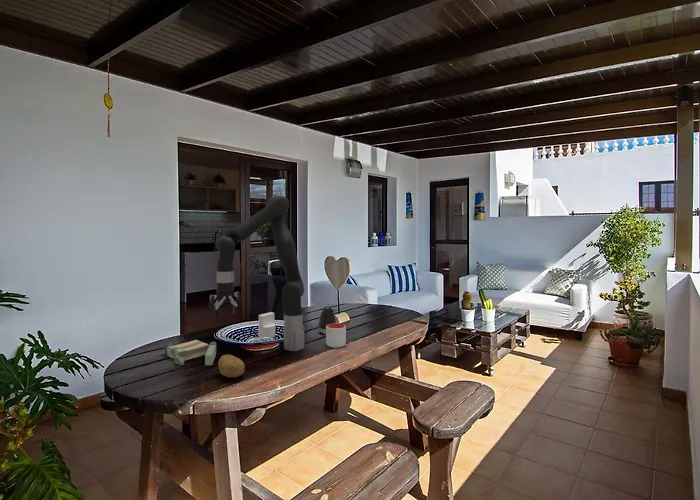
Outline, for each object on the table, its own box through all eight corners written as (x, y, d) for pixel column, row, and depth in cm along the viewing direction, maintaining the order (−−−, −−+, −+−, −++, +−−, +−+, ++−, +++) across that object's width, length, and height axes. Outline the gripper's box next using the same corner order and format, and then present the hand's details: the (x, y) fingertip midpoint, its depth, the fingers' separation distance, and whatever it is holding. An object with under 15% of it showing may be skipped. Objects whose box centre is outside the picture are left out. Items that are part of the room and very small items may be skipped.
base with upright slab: (265, 339, 212) (265, 317, 211) (254, 336, 217) (254, 314, 216) (278, 335, 219) (278, 313, 218) (267, 332, 224) (267, 311, 223)
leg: (210, 352, 191) (210, 342, 190) (216, 352, 191) (216, 341, 191) (205, 365, 174) (204, 354, 174) (211, 365, 175) (211, 353, 174)
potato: (228, 385, 155) (228, 365, 154) (212, 374, 165) (212, 355, 164) (251, 378, 161) (251, 359, 161) (234, 368, 172) (234, 350, 171)
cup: (348, 343, 206) (349, 324, 205) (340, 349, 197) (340, 329, 196) (331, 341, 210) (331, 322, 209) (322, 346, 201) (322, 327, 200)
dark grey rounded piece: (326, 337, 217) (326, 309, 216) (314, 332, 225) (314, 305, 223) (340, 333, 224) (340, 306, 222) (329, 329, 231) (329, 303, 230)
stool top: (215, 355, 187) (215, 344, 187) (180, 366, 174) (180, 354, 173) (193, 346, 199) (192, 336, 199) (158, 355, 186) (158, 344, 185)
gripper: (236, 278, 190) (236, 312, 191) (206, 281, 180) (206, 316, 182) (243, 280, 184) (243, 315, 185) (213, 283, 175) (213, 320, 176)
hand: (225, 315), depth 183 cm, fingers open, 8 cm apart
